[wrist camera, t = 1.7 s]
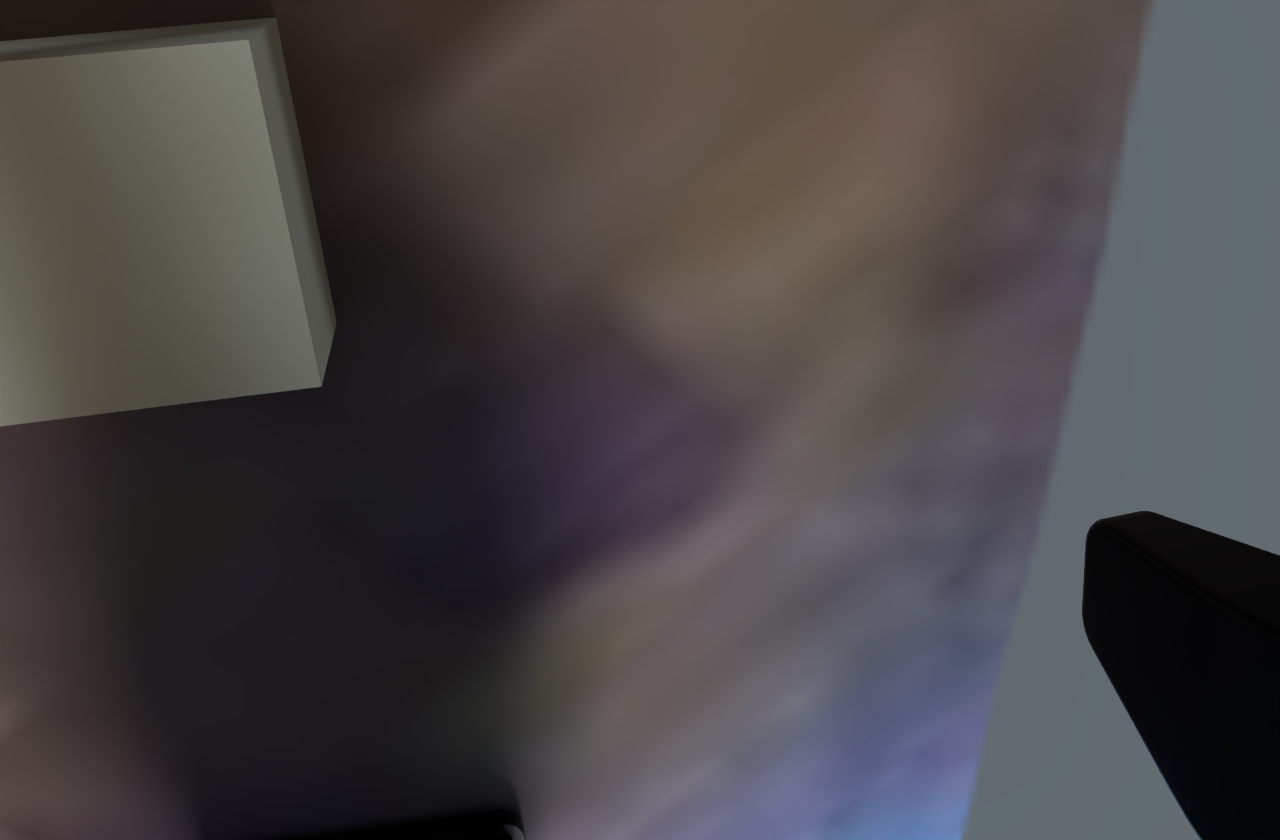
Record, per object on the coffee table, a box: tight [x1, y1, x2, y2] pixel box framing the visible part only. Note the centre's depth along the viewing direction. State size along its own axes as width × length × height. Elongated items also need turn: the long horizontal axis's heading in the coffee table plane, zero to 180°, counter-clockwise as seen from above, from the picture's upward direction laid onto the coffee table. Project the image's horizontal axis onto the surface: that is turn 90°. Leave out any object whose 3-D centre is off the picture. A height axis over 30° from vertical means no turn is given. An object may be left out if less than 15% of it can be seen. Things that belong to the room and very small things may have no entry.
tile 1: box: [0, 17, 337, 426], centre depth 17 cm, size 5×5×3 cm
